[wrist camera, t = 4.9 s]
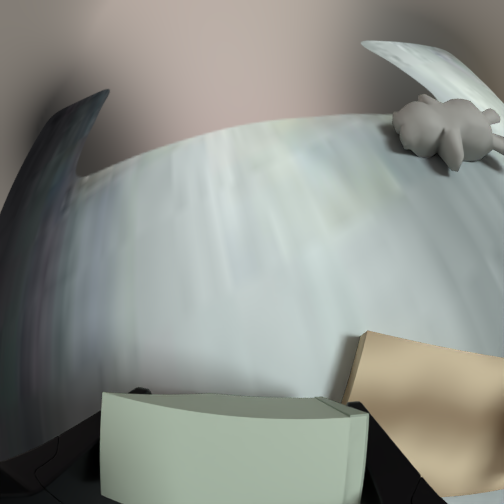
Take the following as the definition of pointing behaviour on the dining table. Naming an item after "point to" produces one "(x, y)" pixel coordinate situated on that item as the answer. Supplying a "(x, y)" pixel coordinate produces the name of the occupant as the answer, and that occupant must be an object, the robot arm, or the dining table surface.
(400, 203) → the dining table surface
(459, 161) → the bunny figurine
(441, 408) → the tan board with upright
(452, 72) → the dining table surface
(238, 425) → the sage book
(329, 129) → the dining table surface
